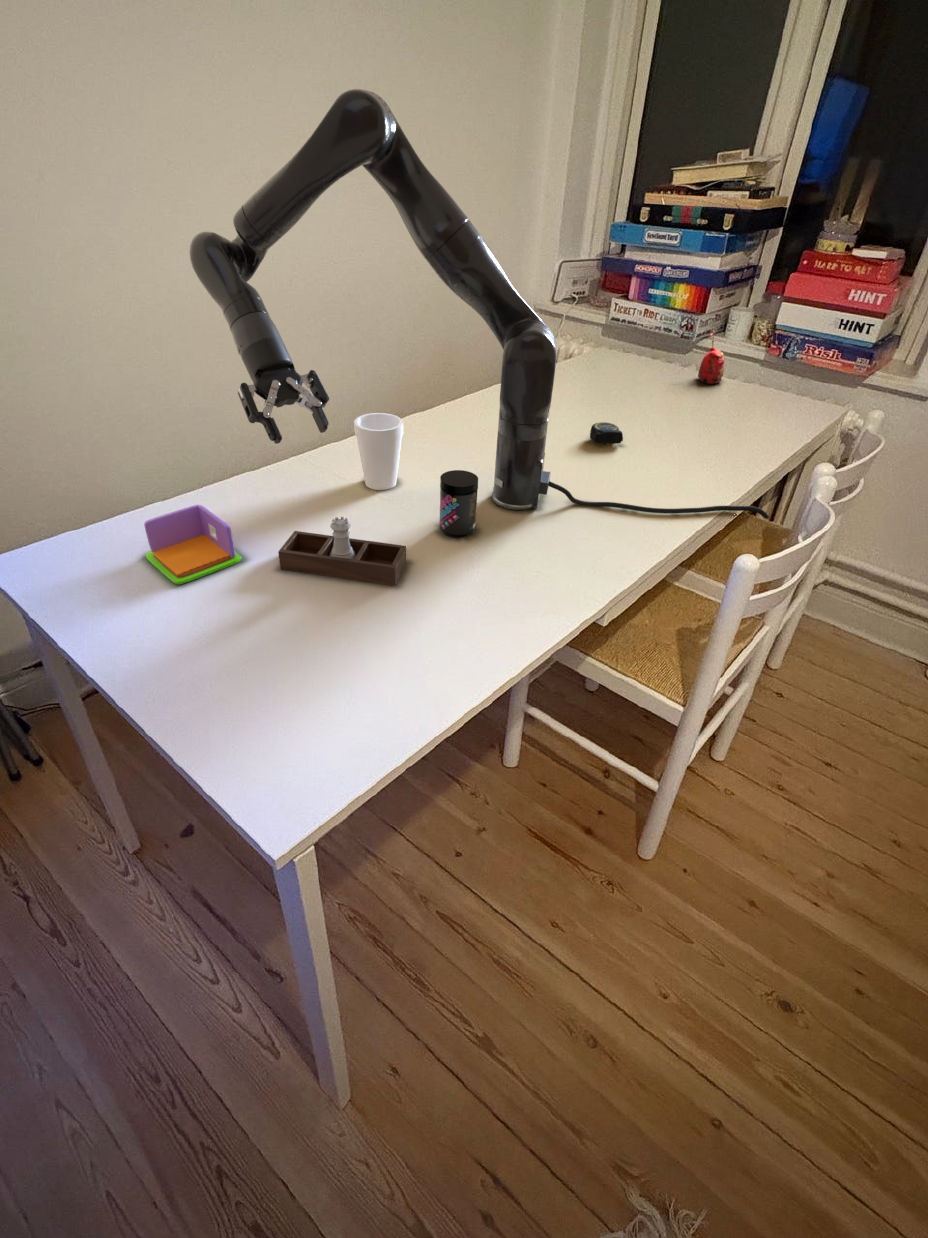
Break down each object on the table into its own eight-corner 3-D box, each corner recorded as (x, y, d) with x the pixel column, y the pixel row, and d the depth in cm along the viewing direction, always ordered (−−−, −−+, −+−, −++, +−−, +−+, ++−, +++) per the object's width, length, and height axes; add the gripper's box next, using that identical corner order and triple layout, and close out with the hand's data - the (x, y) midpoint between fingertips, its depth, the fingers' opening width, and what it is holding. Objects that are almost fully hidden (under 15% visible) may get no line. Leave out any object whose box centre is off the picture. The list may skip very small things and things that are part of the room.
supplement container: (440, 519, 131) (442, 468, 124) (476, 522, 130) (479, 471, 124) (437, 537, 125) (438, 485, 119) (474, 540, 125) (477, 488, 119)
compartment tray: (296, 548, 120) (294, 530, 118) (406, 563, 118) (406, 545, 116) (280, 569, 115) (278, 551, 113) (395, 586, 112) (395, 567, 110)
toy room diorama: (209, 533, 123) (202, 498, 119) (244, 560, 117) (238, 524, 112) (143, 556, 116) (133, 520, 112) (176, 586, 110) (167, 549, 105)
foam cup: (396, 496, 138) (394, 433, 130) (351, 490, 139) (347, 427, 131) (408, 476, 145) (408, 415, 137) (366, 470, 146) (363, 410, 139)
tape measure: (593, 447, 162) (596, 432, 159) (585, 436, 167) (588, 421, 165) (621, 447, 162) (624, 432, 160) (612, 435, 168) (615, 421, 166)
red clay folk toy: (716, 386, 202) (730, 332, 193) (692, 381, 205) (705, 328, 196) (723, 380, 207) (737, 327, 198) (700, 375, 210) (713, 323, 201)
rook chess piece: (361, 558, 117) (358, 516, 112) (349, 572, 114) (346, 529, 109) (337, 553, 118) (334, 511, 114) (324, 566, 115) (321, 523, 110)
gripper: (225, 342, 110) (268, 435, 109) (305, 329, 117) (346, 416, 117) (217, 367, 116) (258, 455, 116) (294, 354, 123) (332, 436, 123)
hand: (302, 435), depth 116 cm, fingers open, 8 cm apart
